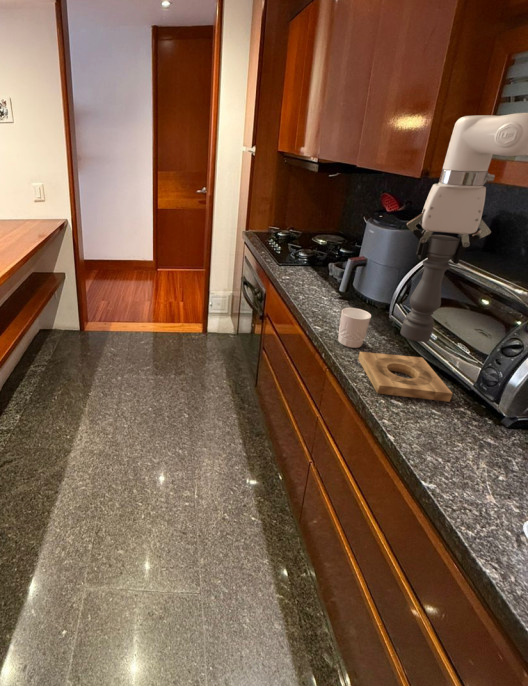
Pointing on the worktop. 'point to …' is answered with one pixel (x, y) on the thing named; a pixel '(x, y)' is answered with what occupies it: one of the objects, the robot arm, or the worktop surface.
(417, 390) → the base pad
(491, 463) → the worktop surface
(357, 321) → the white cup
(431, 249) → the candle holder
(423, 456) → the worktop surface
